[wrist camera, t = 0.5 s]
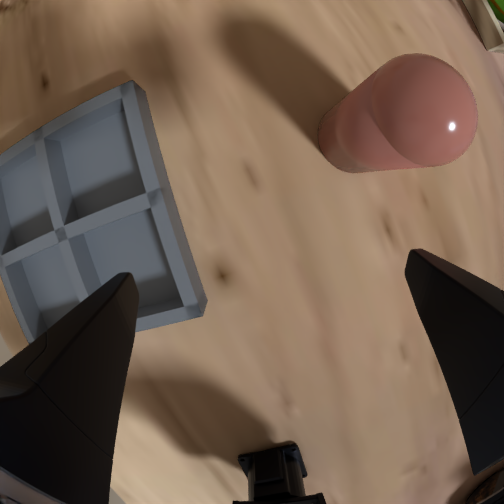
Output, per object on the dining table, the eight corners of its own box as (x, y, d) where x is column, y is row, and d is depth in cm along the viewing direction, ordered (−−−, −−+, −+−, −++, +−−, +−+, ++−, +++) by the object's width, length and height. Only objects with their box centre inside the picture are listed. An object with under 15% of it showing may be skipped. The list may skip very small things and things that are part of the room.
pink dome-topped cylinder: (390, 165, 22) (511, 156, 9) (329, 180, 22) (424, 175, 9) (371, 100, 21) (475, 40, 8) (308, 111, 21) (378, 35, 8)
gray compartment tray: (207, 300, 24) (202, 316, 21) (48, 338, 24) (33, 352, 21) (145, 91, 20) (132, 79, 17) (-4, 173, 21) (-24, 173, 18)
